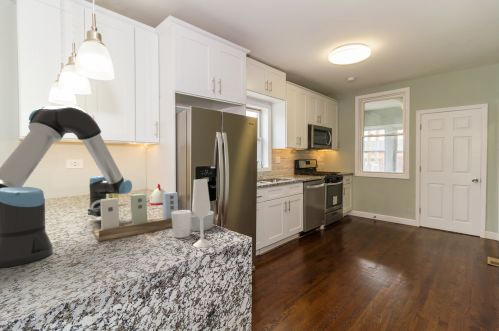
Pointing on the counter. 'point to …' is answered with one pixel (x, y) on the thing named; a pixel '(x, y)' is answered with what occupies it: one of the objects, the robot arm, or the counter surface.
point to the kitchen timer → (157, 196)
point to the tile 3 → (169, 204)
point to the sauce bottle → (113, 196)
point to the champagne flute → (201, 207)
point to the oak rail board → (132, 229)
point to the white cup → (181, 223)
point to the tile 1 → (109, 213)
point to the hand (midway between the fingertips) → (109, 215)
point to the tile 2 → (138, 208)
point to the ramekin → (206, 221)
